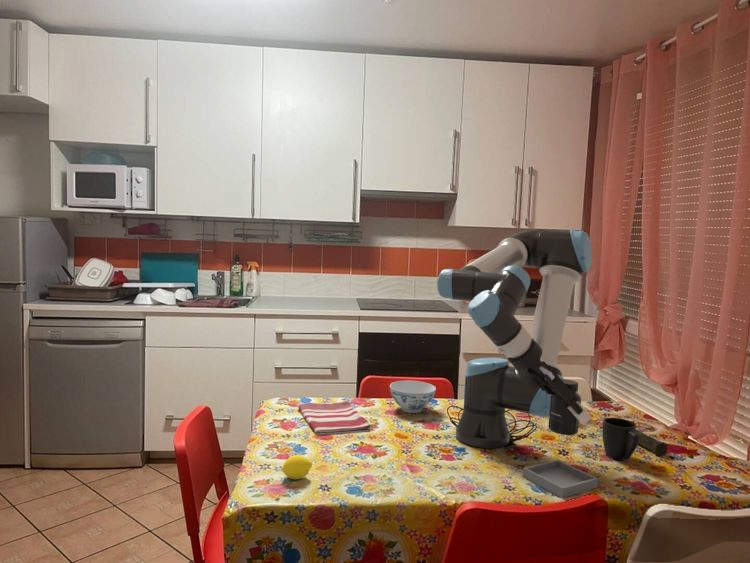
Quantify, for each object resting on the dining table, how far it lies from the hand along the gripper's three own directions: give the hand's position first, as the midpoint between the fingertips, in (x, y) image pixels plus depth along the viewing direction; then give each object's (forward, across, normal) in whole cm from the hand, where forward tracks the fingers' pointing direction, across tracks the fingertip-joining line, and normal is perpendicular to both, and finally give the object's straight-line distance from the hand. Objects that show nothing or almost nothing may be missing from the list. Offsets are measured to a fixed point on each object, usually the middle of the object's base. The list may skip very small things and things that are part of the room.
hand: (578, 415), depth 136 cm
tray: (+9, 0, -14) cm, 17 cm away
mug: (+26, -12, +3) cm, 29 cm away
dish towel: (-25, -47, -49) cm, 73 cm away
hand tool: (+35, -22, +12) cm, 43 cm away
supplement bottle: (0, 0, -5) cm, 5 cm away
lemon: (-35, -7, -58) cm, 68 cm away
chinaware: (-7, -56, -30) cm, 64 cm away
